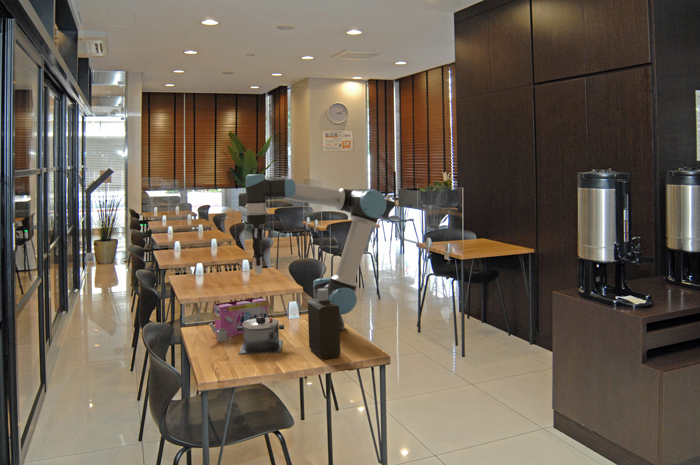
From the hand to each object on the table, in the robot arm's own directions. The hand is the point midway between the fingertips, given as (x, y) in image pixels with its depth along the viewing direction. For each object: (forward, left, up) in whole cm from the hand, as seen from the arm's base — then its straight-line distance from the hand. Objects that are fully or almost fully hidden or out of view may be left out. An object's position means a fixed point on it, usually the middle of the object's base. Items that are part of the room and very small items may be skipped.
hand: (258, 273), depth 219 cm
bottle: (-25, +10, -31) cm, 41 cm away
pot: (0, -1, -30) cm, 30 cm away
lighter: (+19, -12, -31) cm, 38 cm away
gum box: (+11, -25, -31) cm, 41 cm away
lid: (0, -1, -21) cm, 21 cm away
